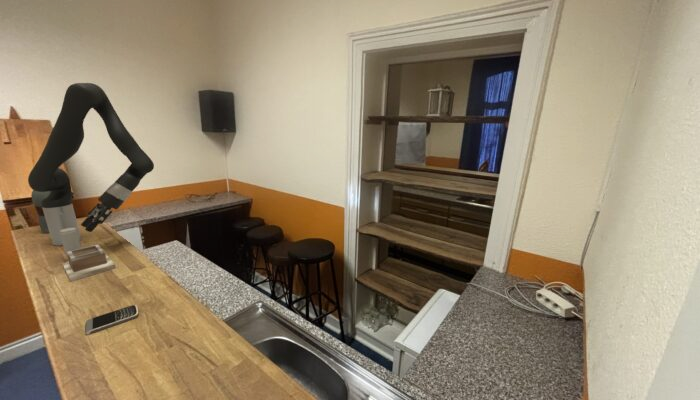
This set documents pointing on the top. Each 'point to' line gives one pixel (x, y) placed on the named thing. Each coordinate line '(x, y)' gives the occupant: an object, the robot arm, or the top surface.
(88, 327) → the cell phone
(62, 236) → the beverage can
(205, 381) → the top surface
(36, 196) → the bottle
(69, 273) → the pedestal base
